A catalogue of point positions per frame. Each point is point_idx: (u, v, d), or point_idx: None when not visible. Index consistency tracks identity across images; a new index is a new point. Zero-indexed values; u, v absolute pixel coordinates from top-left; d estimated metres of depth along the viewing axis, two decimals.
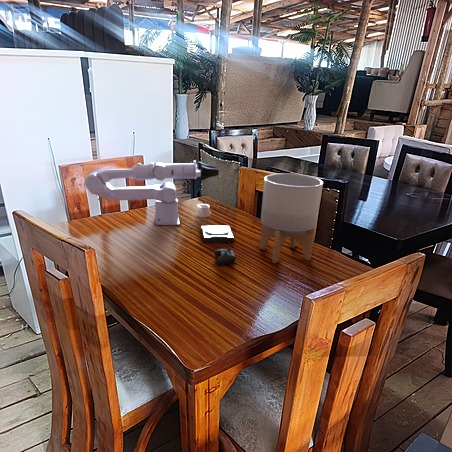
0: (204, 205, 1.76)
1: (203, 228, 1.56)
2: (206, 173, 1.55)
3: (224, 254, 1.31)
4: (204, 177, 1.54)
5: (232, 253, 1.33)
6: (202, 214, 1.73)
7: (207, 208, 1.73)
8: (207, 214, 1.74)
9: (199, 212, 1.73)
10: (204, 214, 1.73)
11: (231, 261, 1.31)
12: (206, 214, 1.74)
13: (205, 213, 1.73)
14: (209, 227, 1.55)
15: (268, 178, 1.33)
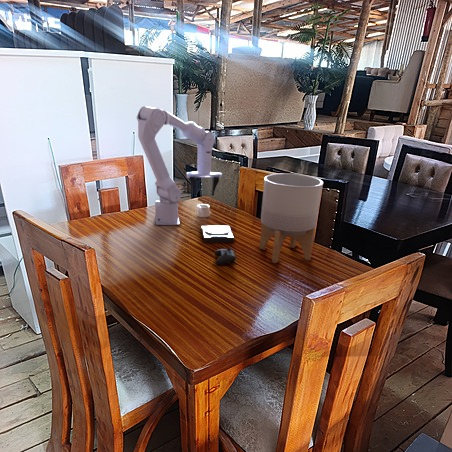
0: (204, 205, 1.76)
1: (203, 228, 1.56)
2: None
3: (224, 254, 1.31)
4: None
5: (232, 253, 1.33)
6: (202, 214, 1.73)
7: (207, 208, 1.73)
8: (207, 214, 1.74)
9: (199, 212, 1.73)
10: (204, 214, 1.73)
11: (231, 261, 1.31)
12: (206, 214, 1.74)
13: (205, 213, 1.73)
14: (209, 227, 1.55)
15: (268, 178, 1.33)
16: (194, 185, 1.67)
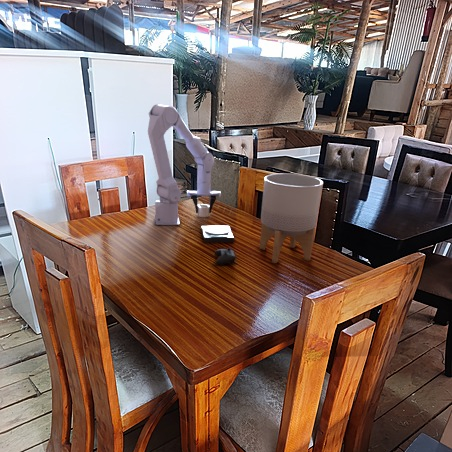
0: (204, 205, 1.76)
1: (203, 228, 1.56)
2: None
3: (224, 254, 1.31)
4: None
5: (232, 253, 1.33)
6: (202, 214, 1.73)
7: (207, 208, 1.73)
8: (207, 214, 1.74)
9: (199, 212, 1.73)
10: (204, 214, 1.73)
11: (231, 261, 1.31)
12: (206, 214, 1.74)
13: (205, 213, 1.73)
14: (209, 227, 1.55)
15: (268, 178, 1.33)
16: (196, 203, 1.71)
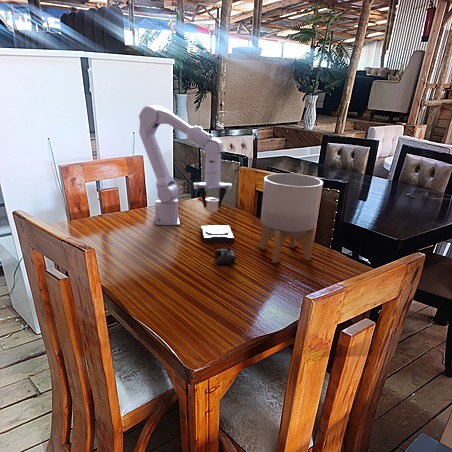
0: (212, 199, 1.60)
1: (203, 228, 1.56)
2: None
3: (224, 254, 1.31)
4: None
5: (232, 253, 1.33)
6: (210, 209, 1.57)
7: (216, 202, 1.56)
8: (216, 209, 1.58)
9: (207, 206, 1.57)
10: (213, 209, 1.57)
11: (231, 261, 1.31)
12: (215, 209, 1.57)
13: (214, 207, 1.57)
14: (209, 227, 1.55)
15: (268, 178, 1.33)
16: (204, 197, 1.55)
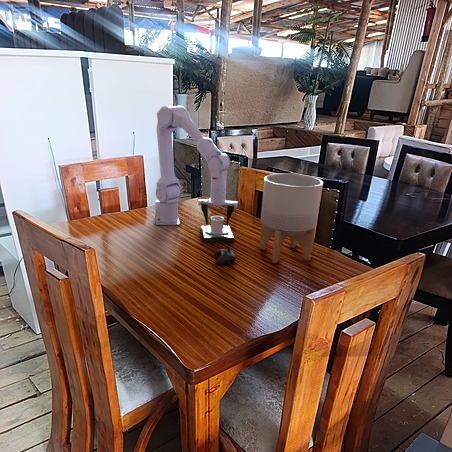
0: (219, 217, 1.54)
1: (203, 228, 1.56)
2: None
3: (224, 254, 1.31)
4: None
5: (232, 253, 1.33)
6: (214, 228, 1.51)
7: (220, 221, 1.50)
8: (220, 228, 1.51)
9: (211, 225, 1.51)
10: (217, 228, 1.51)
11: (231, 261, 1.31)
12: (219, 228, 1.51)
13: (218, 227, 1.51)
14: (209, 227, 1.55)
15: (268, 178, 1.33)
16: (205, 214, 1.49)
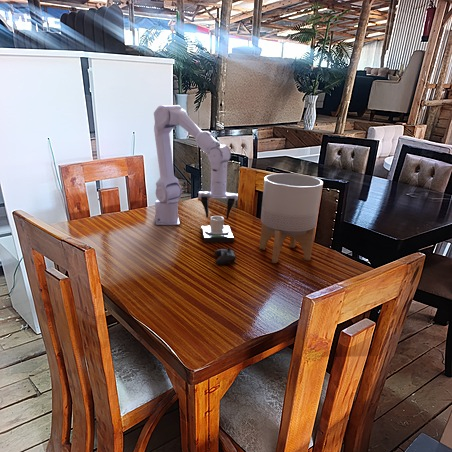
0: (219, 217, 1.54)
1: (203, 228, 1.56)
2: None
3: (224, 254, 1.31)
4: None
5: (232, 253, 1.33)
6: (214, 228, 1.51)
7: (220, 221, 1.50)
8: (220, 228, 1.51)
9: (211, 225, 1.51)
10: (217, 228, 1.51)
11: (231, 261, 1.31)
12: (219, 228, 1.51)
13: (218, 227, 1.51)
14: (209, 227, 1.55)
15: (268, 178, 1.33)
16: (206, 206, 1.48)
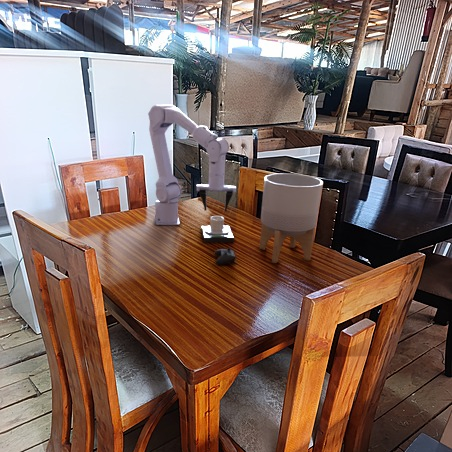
0: (219, 217, 1.54)
1: (203, 228, 1.56)
2: None
3: (224, 254, 1.31)
4: None
5: (232, 253, 1.33)
6: (214, 228, 1.51)
7: (220, 221, 1.50)
8: (220, 228, 1.51)
9: (211, 225, 1.51)
10: (217, 228, 1.51)
11: (231, 261, 1.31)
12: (219, 228, 1.51)
13: (218, 227, 1.51)
14: (209, 227, 1.55)
15: (268, 178, 1.33)
16: (204, 199, 1.48)
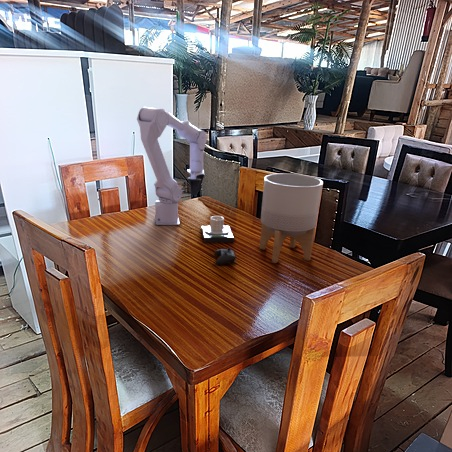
0: (219, 217, 1.54)
1: (203, 228, 1.56)
2: None
3: (224, 254, 1.31)
4: None
5: (232, 253, 1.33)
6: (214, 228, 1.51)
7: (220, 221, 1.50)
8: (220, 228, 1.51)
9: (211, 225, 1.51)
10: (217, 228, 1.51)
11: (231, 261, 1.31)
12: (219, 228, 1.51)
13: (218, 227, 1.51)
14: (209, 227, 1.55)
15: (268, 178, 1.33)
16: (198, 184, 1.68)
